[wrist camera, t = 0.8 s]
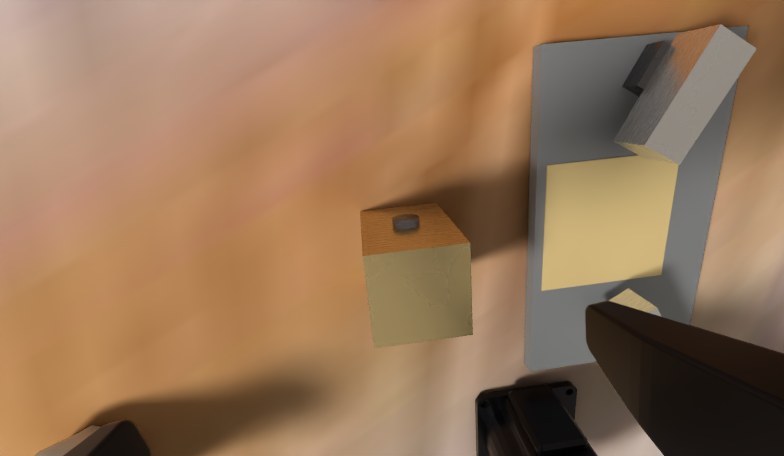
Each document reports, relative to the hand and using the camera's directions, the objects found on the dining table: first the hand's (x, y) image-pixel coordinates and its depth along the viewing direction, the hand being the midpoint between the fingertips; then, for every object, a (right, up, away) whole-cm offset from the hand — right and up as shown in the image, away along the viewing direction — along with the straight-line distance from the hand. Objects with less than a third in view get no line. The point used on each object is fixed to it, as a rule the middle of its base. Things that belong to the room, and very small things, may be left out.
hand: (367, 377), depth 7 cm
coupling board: (+13, +4, +13) cm, 19 cm away
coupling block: (+1, +2, +13) cm, 13 cm away
